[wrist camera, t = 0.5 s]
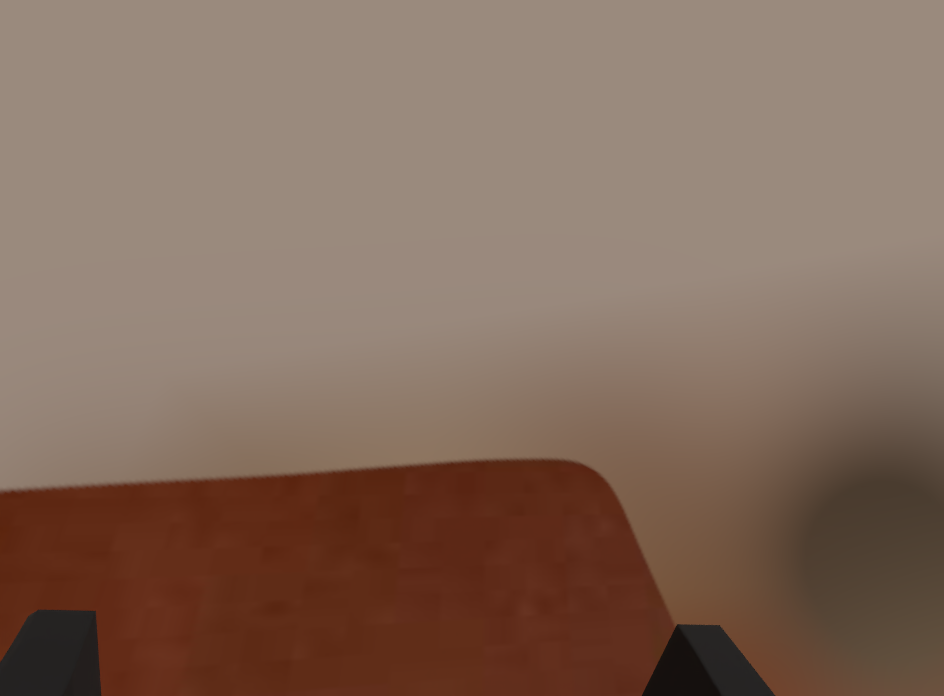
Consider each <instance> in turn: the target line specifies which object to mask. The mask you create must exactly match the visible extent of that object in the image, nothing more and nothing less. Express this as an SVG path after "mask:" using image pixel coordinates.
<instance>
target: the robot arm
mask: <svg viewBox="0 0 944 696" xmlns="http://www.w3.org/2000/svg"><path fill="white" fill-rule="evenodd" d="M0 696H101V685H100V670H99V655H98V639H97V624H96V611H70V610H37V611H36V612H34V613H33V614H31V615H30V616H28V618H27V619H26V621H25V623H24V625H23V626H22V628H21V630H20V631H19V633H18V635H17V637H16V638H15V640H14V642H13V643H12V645H11V646H10V648H9V650H8V651H7V653H6V654H5V656H4V658H3V659H2V661H1V662H0ZM642 696H775V695H774V694H773V692H772V691H771V690H770V688H769V687H768V686H767V685H766V684H765V682H764V681H763V680H762V678H761V677H760V676H759V675H758V673H757V672H756V671H755V669H754V668H753V667H752V666H751V664H750V663H749V662H748V660H747V659H746V658H745V657H744V655H743V654H742V653H741V652H740V650H739V649H738V648H737V647H736V645H735V644H734V643H733V642H732V640H731V639H730V638H729V637H728V635H727V634H726V633H725V632H724V630H723V629H722V628H721V627H720V625H680V624H677V626H676V628H675V630H674V632H673V634H672V636H671V638H670V640H669V642H668V644H667V646H666V648H665V650H664V652H663V654H662V656H661V658H660V660H659V662H658V664H657V666H656V668H655V670H654V672H653V674H652V676H651V678H650V680H649V682H648V684H647V686H646V688H645V690H644V692H643V694H642Z"/></svg>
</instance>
